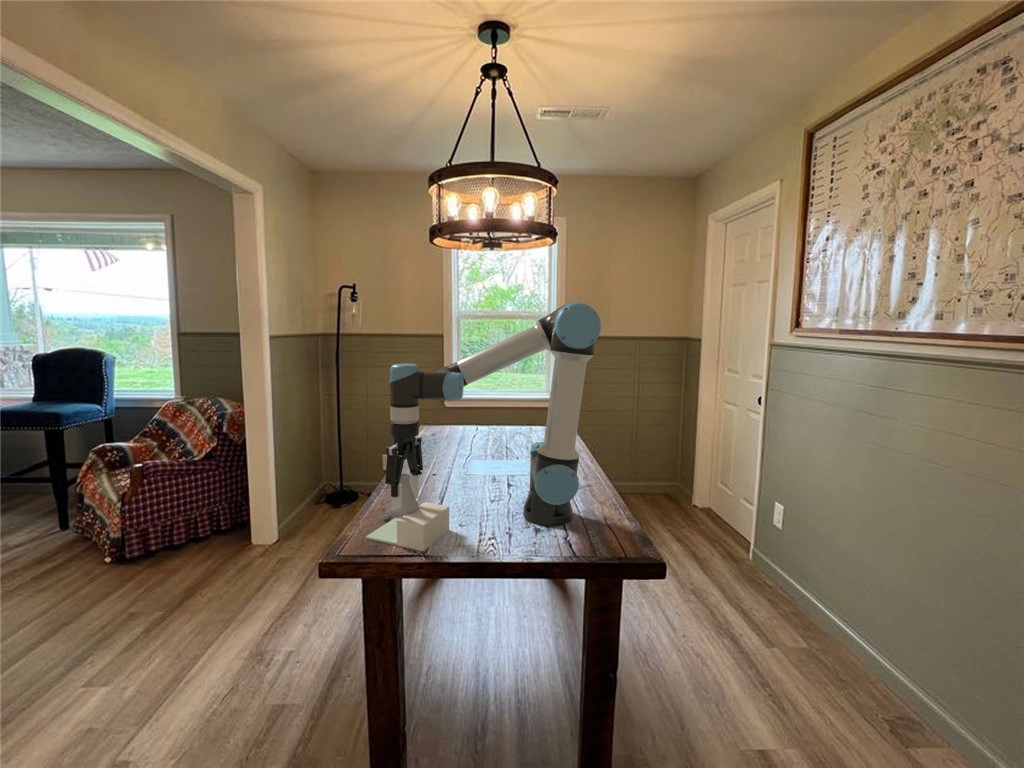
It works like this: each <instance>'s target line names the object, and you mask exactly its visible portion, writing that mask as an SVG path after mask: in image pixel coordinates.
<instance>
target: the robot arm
mask: <svg viewBox="0 0 1024 768" xmlns="http://www.w3.org/2000/svg"><path fill="white" fill-rule="evenodd" d="M601 331H602V322H601V318H600V315H599V313H598V312H597V311H596V310H595V308H594V307H592V306H591V305H589V304H586V303H585V302H580V301H572V302H571V301H570V302H569V303H566V304H564V305H561V306H560V307H557V308H556V309H555V310H554V311H552V312H551V313H549V314H548V315H546V316H544V317H543V318H539V319H538V320H536V322H535V324H534V325H533V326H531V327H529V328H527V329H524V330H522V331H520V332H517V333H516V334H514V335H511V336H510V337H507V338H505V339H503V340H500V341H498V342H497V343H494V344H492V345H490V346H488V347H485V348H483V349H481V350H479V351H477V352H475V353H473V354H471V355H468V356H466V357H464V358H462V359H460V360H458V361H456V362H453V363H450V364H449V365H447V366H443V367H441V368H438V370H437V371H420V368H419V365H418V364H416V363H395V364H392V365H391V367H390V369H389V370H390V372H389V401H390V402H389V403H390V405H389V406H390V410H389V412H390V421H391V422H390V425H389V426H390V427H389V428H390V430H389V431H390V436H391V437H393V438H394V439H393V443H392V444H393V445H391V446H387V447H386V449H385V450H386V467H385V481H384V482H385V485H389V486H390V496H391V508H392V507H393V508H399V509H401V508H402V484H400V479H401V474H403V470H404V469H403V468H404V464H405V460H406V462H407V466H408V469H409V474H410V477H409V480H410V486H411V489H412V492H413V494H414V497H415V499H418V498H419V476H421V475H423V472H422V471H423V470H424V464H423V463H424V462H423V453H422V452H423V451H422V441H423V439H422V437H419V436H418V435H419V433H420V429H419V428H420V423H419V421H418V420H420V419H419V418H420V413H419V412H420V411H419V410H420V409H419V408H420V407H419V405H420V403H419V400H421V401H427V400H428V401H448V402H451V401H460V400H462V399H463V396H464V387H467V386H468V385H470V384H472V383H474V382H476V381H479V380H481V379H483V378H485V377H488V376H490V375H492V374H494V373H496V372H498V371H501V370H503V369H505V368H508V367H509V366H512V365H514V364H516V363H519V362H521V361H523V360H524V359H528V358H529V357H531V356H533V355H537V354H539V353H541V352H542V351H545V350H547V351H549V352H550V353H551V355H552V356H553V357H554V361H553V370H552V377H551V383H550V384H551V385H550V391H549V392H550V393H549V399H548V408H547V414H546V415H547V416H546V422H545V423H546V424H545V432H544V439H543V441H538V442H534V443H532V444H531V446H530V451H529V453H530V463H529V464H530V471H529V492H528V494H527V496H526V500H525V503H524V505H523V517H524V519H525V520H527V521H528V522H529V523H533V524H535V525H541V526H548V527H549V526H551V527H552V526H561V525H565V524H568V523H570V522H571V521H572V520H573V514H574V513H573V506H572V503H571V500H572V499H574V498H575V496H576V495H577V493H578V491H579V487H580V481H579V480H580V479H579V475H578V471H579V469H578V468H579V463H580V462H579V461H580V460H579V459H580V454H579V452H578V451H577V450H576V443H577V436H578V434H577V433H578V428H579V421H580V420H579V419H580V415H581V414H580V411H581V406H582V400H583V391H584V385H585V377H586V369H587V363H588V361H589V360H591V359H592V358H593V357H594V354H595V348H596V347H595V345H596V341H598V338H599V336H600V334H601ZM417 436H418V437H417Z"/></svg>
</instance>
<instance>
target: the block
mask: <svg viewBox="0 0 1024 768" xmlns="http://www.w3.org/2000/svg"><path fill="white" fill-rule="evenodd" d="M418 506H419V509H418V510H416V511H415V512H411V513H407V514H403V516H401V517H398V518H399V519H398V520H397V545H396V546H398V547H402V548H406V549H410V550H416V551H420V552H424V551H425V550H427V549H428V548H429V547H430V546H432V545H433V544H434V543H435V542H437V541H438V540H439V539H440V538H441V537H442V536H444V535H445V534H446V533H448V532H449V531H450V506H449V505H444V504H437V503H433V502H426V501H425V502H423V503H421V504H418Z"/></svg>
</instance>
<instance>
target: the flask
mask: <svg viewBox="0 0 1024 768" xmlns="http://www.w3.org/2000/svg"><path fill="white" fill-rule="evenodd" d="M410 474H411V473H410V472H409V473H408V472H404V473H403V472H402V474H401V479H400V484H402V508H401V509H399V508H393V507H392V506H391V511H392V512H394V513H395V514H401V515H406V514H407V513H411V512H415V511H416V510H418V509H419V504H418V501H417V498H415V497H414V494H413V492H412V489H411V486H410V480H409V477H410Z"/></svg>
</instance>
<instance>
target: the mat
mask: <svg viewBox="0 0 1024 768" xmlns="http://www.w3.org/2000/svg"><path fill="white" fill-rule="evenodd" d="M399 518H400V517H395V518H392V519H391V520H389V521H388V522H387V523H385V524H383V525H382V526H380V527H378V528H377V529H375V530H374V531H372V532H371V533H369V534H368V535H366V536H365V540H370V541H373V542H374V541H375V542H379V543H383V544H387V545H392V546H397V520H398V519H399Z"/></svg>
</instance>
